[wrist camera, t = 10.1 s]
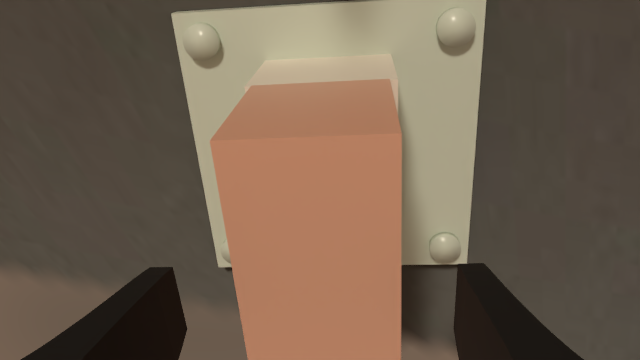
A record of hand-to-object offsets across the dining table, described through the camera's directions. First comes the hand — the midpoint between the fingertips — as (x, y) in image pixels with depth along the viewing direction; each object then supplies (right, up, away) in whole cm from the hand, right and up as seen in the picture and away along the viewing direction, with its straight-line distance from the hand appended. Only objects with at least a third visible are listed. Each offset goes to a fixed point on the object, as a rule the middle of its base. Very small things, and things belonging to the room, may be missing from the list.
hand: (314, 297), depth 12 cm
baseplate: (+1, +5, +9) cm, 10 cm away
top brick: (0, +3, +5) cm, 6 cm away
